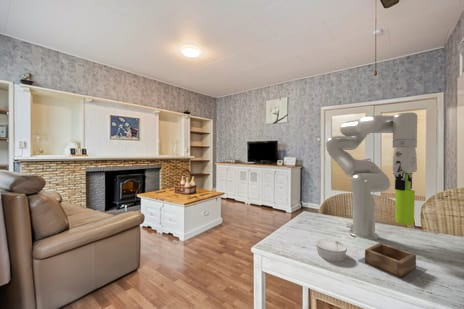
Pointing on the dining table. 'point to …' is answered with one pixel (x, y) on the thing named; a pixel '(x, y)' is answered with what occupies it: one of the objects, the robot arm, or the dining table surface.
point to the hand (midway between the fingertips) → (403, 188)
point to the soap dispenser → (405, 204)
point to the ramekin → (331, 249)
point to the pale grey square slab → (407, 278)
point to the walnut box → (390, 260)
